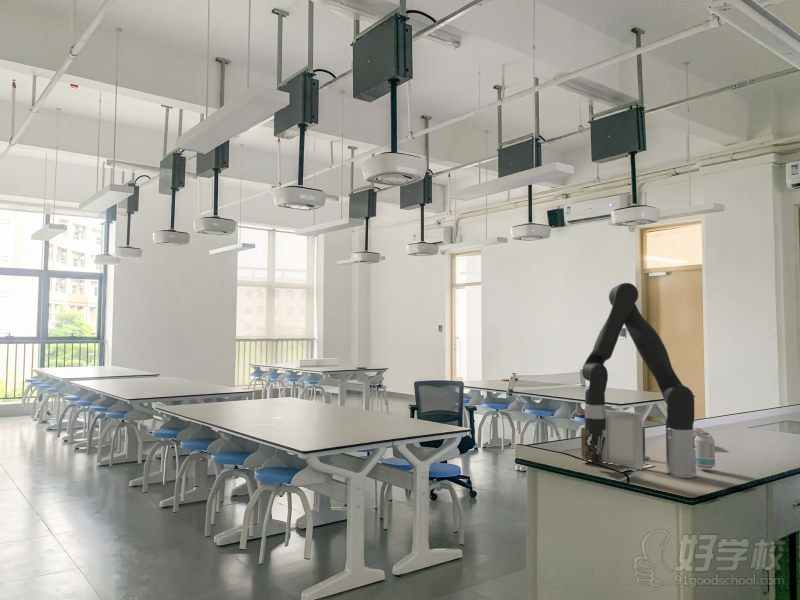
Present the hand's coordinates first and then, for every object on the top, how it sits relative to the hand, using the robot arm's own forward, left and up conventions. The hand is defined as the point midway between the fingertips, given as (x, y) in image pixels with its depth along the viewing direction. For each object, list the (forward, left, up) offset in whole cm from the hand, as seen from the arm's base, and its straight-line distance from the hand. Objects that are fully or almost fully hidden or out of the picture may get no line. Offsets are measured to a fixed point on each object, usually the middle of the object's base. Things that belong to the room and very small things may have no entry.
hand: (596, 463), depth 224 cm
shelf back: (+8, -21, -2) cm, 22 cm away
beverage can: (-28, -35, -3) cm, 45 cm away
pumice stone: (-12, -82, -3) cm, 83 cm away
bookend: (0, -33, -2) cm, 33 cm away
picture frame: (-4, -15, -3) cm, 16 cm away
